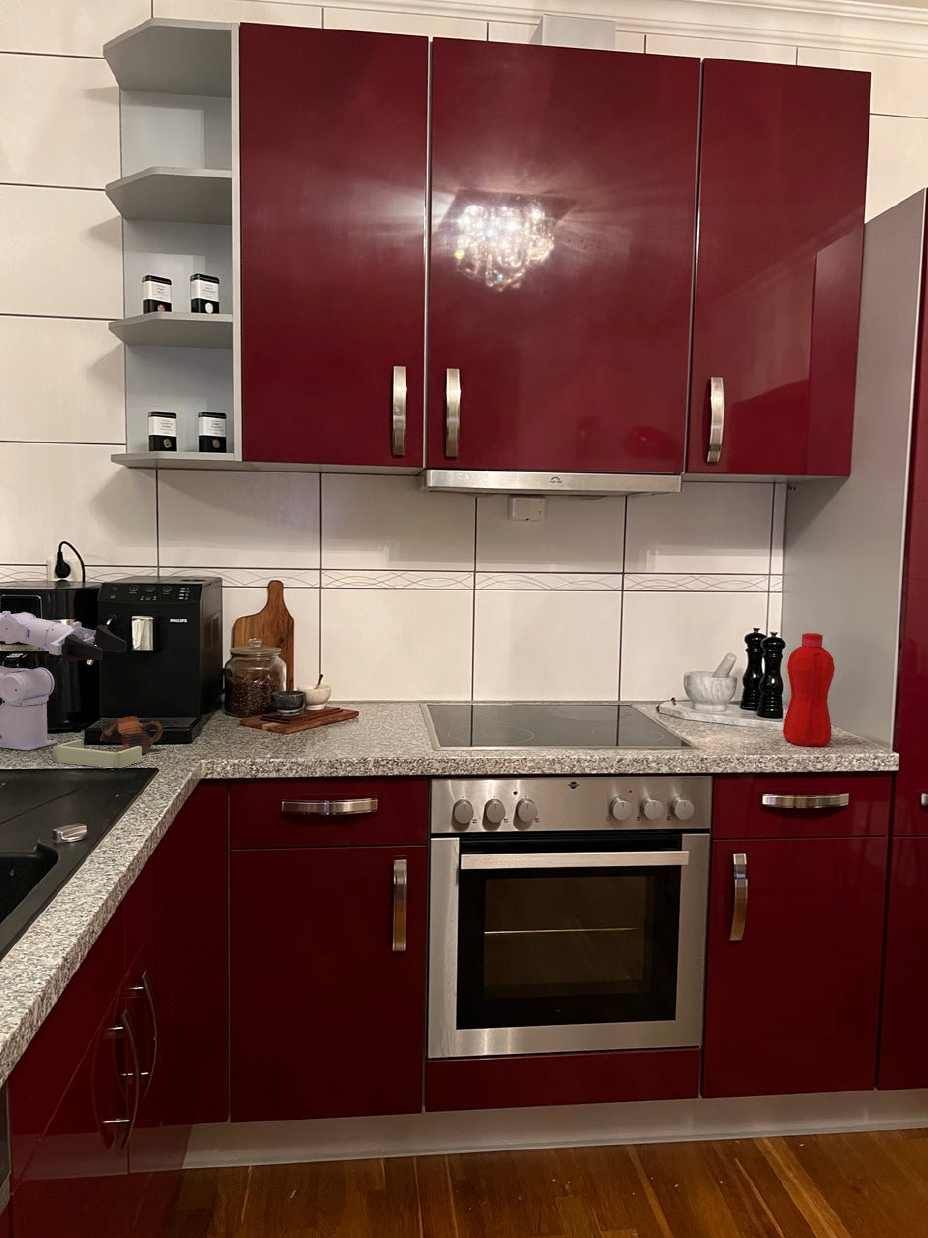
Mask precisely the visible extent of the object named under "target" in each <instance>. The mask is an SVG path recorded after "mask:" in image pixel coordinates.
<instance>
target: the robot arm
mask: <svg viewBox="0 0 928 1238" xmlns="http://www.w3.org/2000/svg"><path fill="white" fill-rule="evenodd" d="M11 613H12V612H11V611H9V610H8V611H7V610H5V611H2V612H0V642H4V643H5V644H6V645H9V644H14V643H18V642H19V643H22V644H25V645H26V644H27V645H29V646H32V647H36V648H41V649H45V650H48V652H49V654H51V655H55V656H59V655H60V656H61V660H62V662H63V663H65V664H66V663H70V662H75V661H102V660H103V656H104V655H103V652H113V653H125V652H127V647H128V642H127V641H126V640H124V639H122V638H120V637H118V636H117V635H115V634H114V633H112V631H110V629H108V627H107V626H105V625H96V627H95V630H92V629H89V628H85V627H82V622H80V621H75V622H73V623H71V624H72V625H68V624H64V623H61V622H57V621H52V620H48V619H44V618H37V617H36V615H34V614H32V613H30V612H26V611H23V612H20V613H12V614H11ZM54 689H55V678H54V675H53V674H52V672H51V671H49V670H48V669H47V668H45V667H36V668H33V669H29V668H23V667H22V668H21V667H20V668H12V667H6V666H2V665H0V698H1V699H2V700H3V701H4V702H3V703H1V704H0V748H2V749H3V748H4V749H12V750H13V749H14V750H21V751H32V750H36V749H40V748H43V747H47V746H50V745H54V744H58V741H57V740H53V739H48V715H47V714H48V709H47V707H48V706H47V705H48V703H47V702H49V696H50V695H51V694H52V693H53V691H54Z"/></svg>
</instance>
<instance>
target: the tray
mask: <svg viewBox="0 0 928 1238" xmlns="http://www.w3.org/2000/svg"><path fill="white" fill-rule="evenodd" d="M52 756H53V757H52V758H53V761H52V762H54V763H58V764H59V763H60V764H61V763H62V764H66V763H68V765H74V764H78V765H77V766H82V765H94V766H101V767H113V768H119V767H125V766H128V767H130V766H129V765H131V764H134V763H137V764H139V763H138V762H140V763H141V761H142V762H143V754H142V746H136V747H133V748H130V749H126V750H123V751H117V752H115V751H106V750H100V749H99V750H98V749H89V748H84V739H80V738H79V739H77V740H75V739H74V740H72V741H69V742H64V743H62V744H58V745H54V746H52ZM134 765H135V764H134ZM131 766H132V765H131ZM125 768H126V767H125Z"/></svg>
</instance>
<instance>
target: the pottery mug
mask: <svg viewBox="0 0 928 1238" xmlns="http://www.w3.org/2000/svg"><path fill="white" fill-rule="evenodd" d="M153 729H155V733H154V734H153V736H150V732H151V730H153ZM100 730H101V736H100V738H99V741H100V742H102V741H103V742H106V743H110V742H113V743H121V744H122V745H121V746H119V747H118V752H120V751H123V750H126V749H130V748H133V747H136V746H142V755H143V754H145V753H147V754H148V753H149V751H148V750H149V749H151V748H152V747H153V744H154V743H156V742H158V741H159V740H160V738H161V737H162V735H163V732H164V728H163V727H162V725H161V723H160V722H158V721H155V720H154V721H153V720H152V721H148V722H145V723H143V722H142V723H141V722H139V718H138V717H137V716H125V717H122V718H118V719H114V720H112V721H110V722H109V721H108V722H107V723H105V724H104V725H102V726H101V728H100Z"/></svg>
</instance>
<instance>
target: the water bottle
mask: <svg viewBox="0 0 928 1238" xmlns="http://www.w3.org/2000/svg"><path fill="white" fill-rule="evenodd" d="M787 659H788V660H787V665H786V670H787V674H788V680H789V687H790V699H789V703H788V706H787V711H786V713H785V717H784V721H783V727H782V728H783V729H782V733H783V734H782V735H783V738H784V739H785V740H786V741H787V740H788V741H787V742H789V741H790V743H791V744H792V745H796V746H799V747H800V746H801V747H826V746H828V745H829V744H830V742H831V739H832V721H831V716H830V709H829V704H828V697H829V691H830V688H831V685H832V681H833V679H834V675H835V669H836V666H835V662H834V661H835V660H834V657H833V656H832V655H831V653H830V652H829V651H828V650H826V649H825V648H823V634H820V633H818V632H816V633H815V632H809V633H808V632H806V633H803V634H801V646H799V647H797V648H795V649H794V650H792V651H791V653H790V654H789V656H788V658H787Z"/></svg>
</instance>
